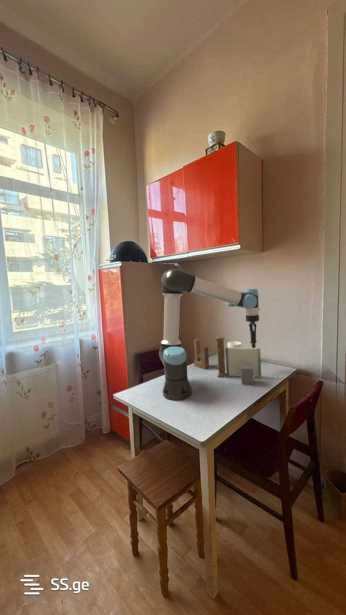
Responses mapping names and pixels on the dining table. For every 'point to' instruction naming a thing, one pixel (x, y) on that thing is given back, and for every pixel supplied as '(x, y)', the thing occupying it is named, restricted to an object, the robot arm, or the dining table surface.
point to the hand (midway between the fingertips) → (253, 352)
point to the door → (243, 360)
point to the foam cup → (234, 344)
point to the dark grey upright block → (247, 375)
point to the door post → (221, 357)
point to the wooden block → (204, 356)
